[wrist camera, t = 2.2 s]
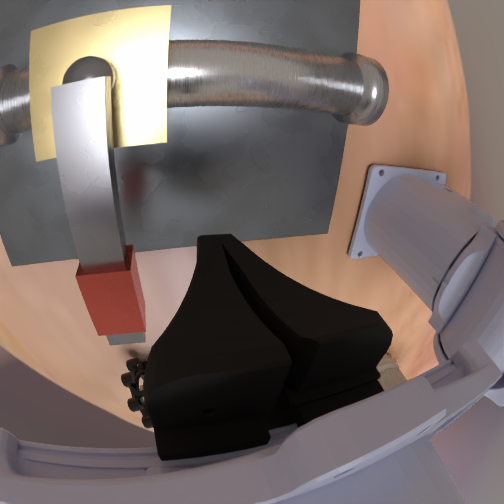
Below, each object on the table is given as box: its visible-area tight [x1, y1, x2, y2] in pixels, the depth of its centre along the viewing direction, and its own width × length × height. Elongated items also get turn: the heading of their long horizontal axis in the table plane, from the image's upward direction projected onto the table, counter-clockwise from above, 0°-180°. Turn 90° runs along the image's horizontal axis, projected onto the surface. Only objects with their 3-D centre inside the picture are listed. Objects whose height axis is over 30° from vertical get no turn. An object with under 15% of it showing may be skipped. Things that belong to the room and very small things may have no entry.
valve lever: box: [51, 56, 146, 345], centre depth 9 cm, size 11×2×2 cm, turn 176°
